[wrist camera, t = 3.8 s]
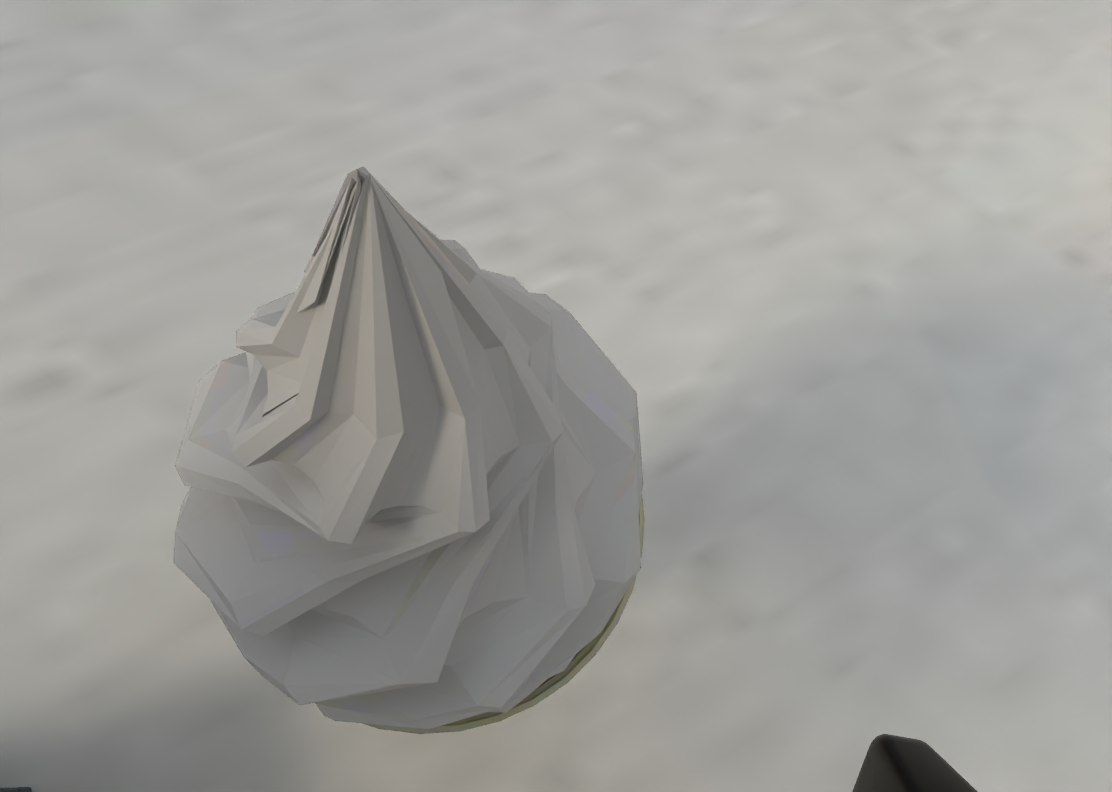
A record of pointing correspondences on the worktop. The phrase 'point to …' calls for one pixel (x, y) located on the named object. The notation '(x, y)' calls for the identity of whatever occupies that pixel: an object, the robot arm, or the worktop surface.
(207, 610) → the worktop surface
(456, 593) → the ice cream cone
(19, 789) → the tub
